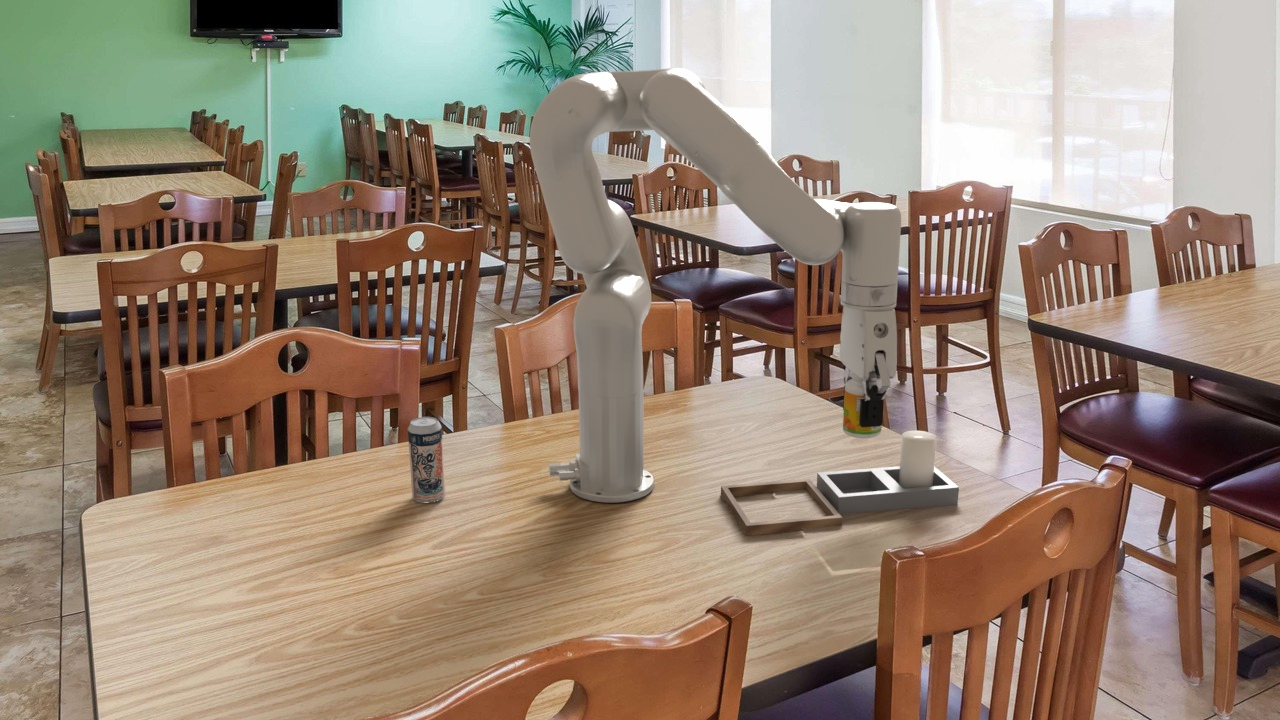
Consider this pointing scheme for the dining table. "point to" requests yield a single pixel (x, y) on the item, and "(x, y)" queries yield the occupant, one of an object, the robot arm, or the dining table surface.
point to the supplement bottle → (856, 409)
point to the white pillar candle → (917, 459)
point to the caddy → (882, 490)
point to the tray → (779, 525)
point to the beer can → (426, 459)
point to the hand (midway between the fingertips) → (862, 417)
